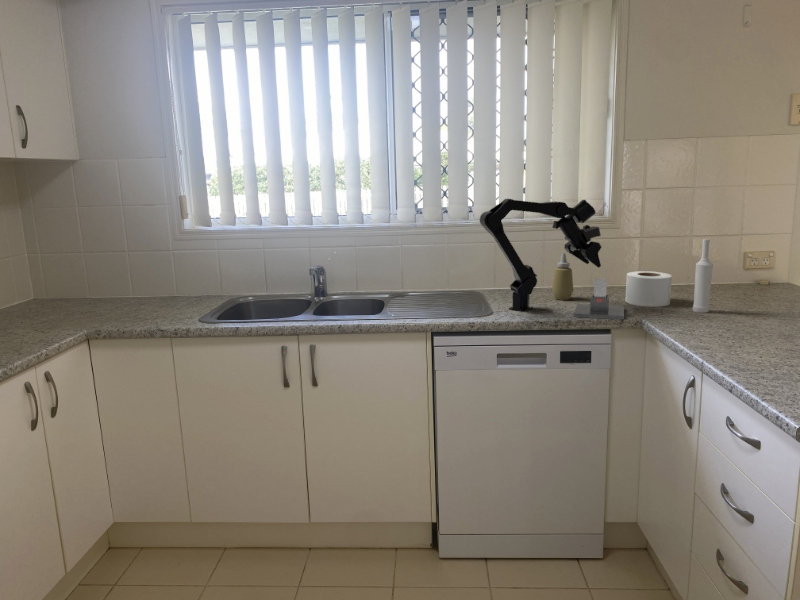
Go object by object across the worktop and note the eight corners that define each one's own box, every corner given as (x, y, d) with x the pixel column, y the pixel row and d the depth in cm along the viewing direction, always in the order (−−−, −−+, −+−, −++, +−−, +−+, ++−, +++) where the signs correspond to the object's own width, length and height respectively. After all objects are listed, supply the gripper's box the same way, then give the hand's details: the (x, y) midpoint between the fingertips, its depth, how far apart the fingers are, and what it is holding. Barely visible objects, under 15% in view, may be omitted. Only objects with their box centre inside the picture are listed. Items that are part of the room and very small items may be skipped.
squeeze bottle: (568, 301, 222) (569, 255, 219) (548, 299, 227) (549, 254, 223) (576, 298, 229) (577, 252, 225) (556, 296, 233) (557, 251, 230)
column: (593, 310, 202) (594, 280, 199) (593, 307, 205) (594, 278, 203) (605, 310, 200) (606, 280, 198) (605, 308, 204) (607, 278, 202)
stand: (573, 316, 198) (574, 299, 197) (577, 307, 213) (577, 291, 212) (623, 319, 193) (624, 301, 192) (623, 309, 208) (624, 292, 206)
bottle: (711, 313, 198) (717, 240, 193) (694, 312, 199) (700, 240, 194) (706, 309, 203) (712, 238, 198) (690, 309, 204) (695, 238, 199)
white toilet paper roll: (679, 303, 214) (681, 274, 212) (649, 308, 208) (650, 279, 205) (645, 296, 228) (647, 269, 226) (616, 301, 221) (617, 273, 219)
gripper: (601, 219, 200) (624, 255, 204) (578, 216, 218) (599, 249, 222) (576, 239, 200) (599, 274, 204) (554, 234, 218) (576, 266, 222)
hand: (593, 265), depth 213 cm, fingers open, 9 cm apart
